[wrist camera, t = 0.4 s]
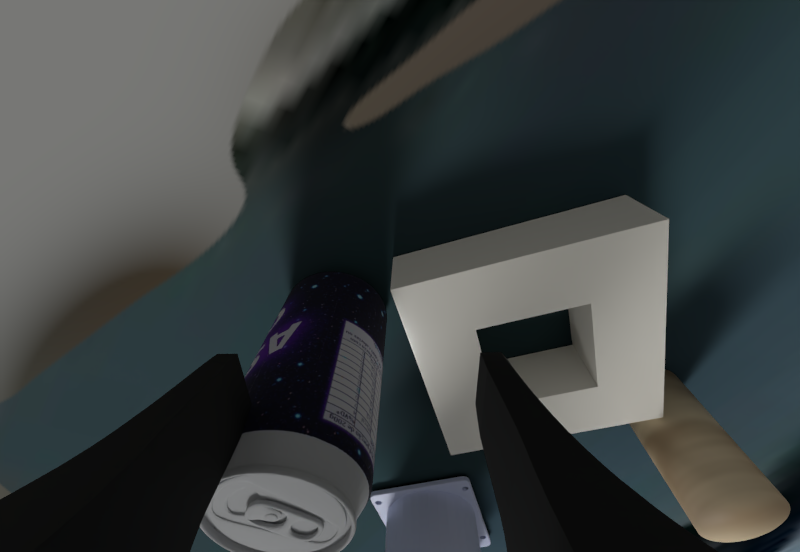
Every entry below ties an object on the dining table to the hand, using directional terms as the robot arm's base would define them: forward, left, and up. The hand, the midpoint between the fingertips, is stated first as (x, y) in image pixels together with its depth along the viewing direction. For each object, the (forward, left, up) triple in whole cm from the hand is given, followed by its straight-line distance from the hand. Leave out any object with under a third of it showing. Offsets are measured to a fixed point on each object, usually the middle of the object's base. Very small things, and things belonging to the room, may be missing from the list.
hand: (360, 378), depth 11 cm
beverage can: (-3, +4, -10) cm, 11 cm away
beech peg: (-15, -13, -10) cm, 22 cm away
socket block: (-7, -6, -10) cm, 14 cm away
